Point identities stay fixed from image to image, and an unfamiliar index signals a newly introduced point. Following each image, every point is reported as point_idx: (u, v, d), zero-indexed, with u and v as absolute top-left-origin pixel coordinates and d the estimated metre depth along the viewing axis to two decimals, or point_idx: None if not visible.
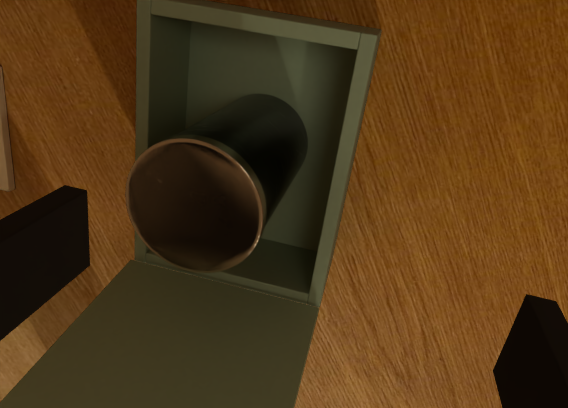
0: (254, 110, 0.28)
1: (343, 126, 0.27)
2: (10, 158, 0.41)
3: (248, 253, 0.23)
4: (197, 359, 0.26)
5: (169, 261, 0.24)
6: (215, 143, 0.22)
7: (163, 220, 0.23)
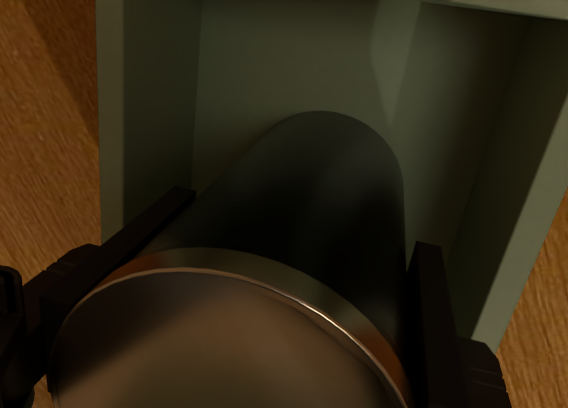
0: (331, 149, 0.14)
1: (532, 189, 0.13)
2: None
3: None
4: None
5: None
6: (291, 281, 0.07)
7: None
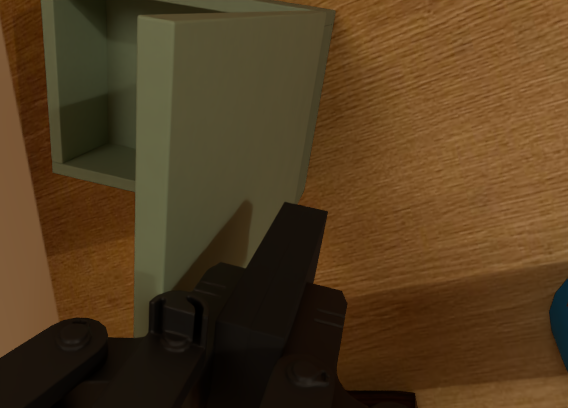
0: None
1: None
2: None
3: None
4: None
5: None
6: None
7: None
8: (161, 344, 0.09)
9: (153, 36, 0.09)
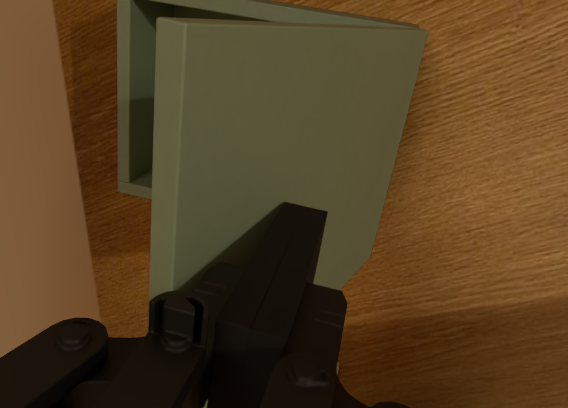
0: None
1: (196, 7, 0.27)
2: None
3: None
4: None
5: None
6: None
7: None
8: (161, 344, 0.09)
9: (168, 37, 0.09)
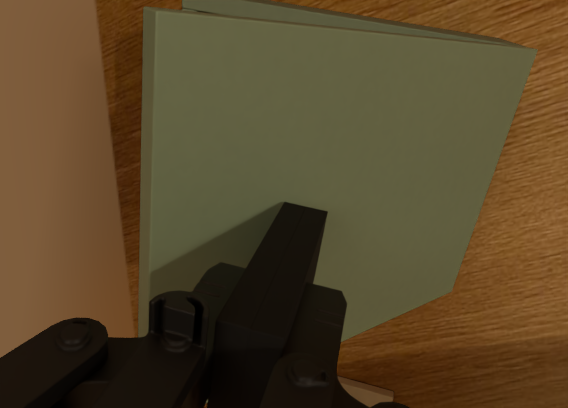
0: None
1: None
2: (359, 383, 0.41)
3: None
4: None
5: None
6: None
7: None
8: (161, 344, 0.09)
9: (148, 23, 0.11)
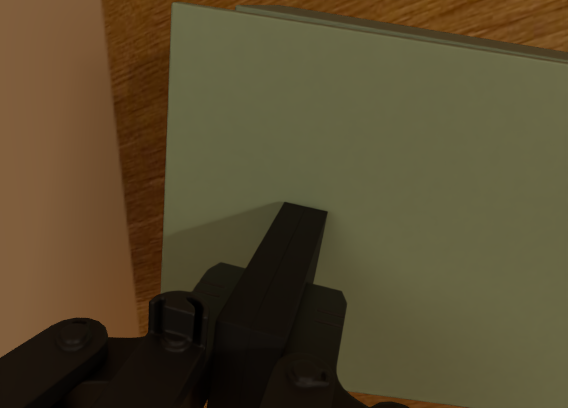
0: None
1: None
2: None
3: None
4: None
5: None
6: None
7: None
8: (161, 344, 0.09)
9: None
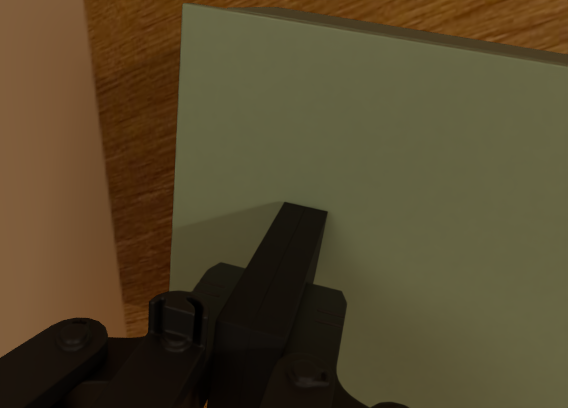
0: None
1: None
2: None
3: None
4: None
5: None
6: None
7: None
8: (161, 344, 0.09)
9: None
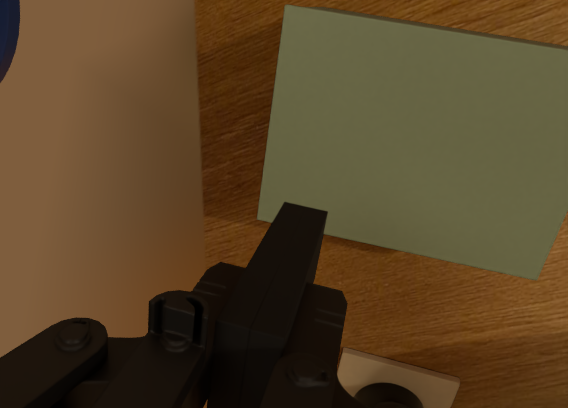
0: None
1: None
2: (427, 370, 0.44)
3: None
4: None
5: None
6: None
7: None
8: (161, 344, 0.09)
9: None
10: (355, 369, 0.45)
